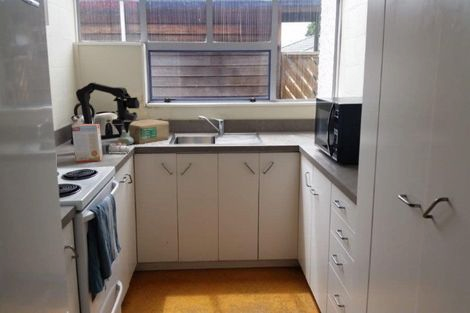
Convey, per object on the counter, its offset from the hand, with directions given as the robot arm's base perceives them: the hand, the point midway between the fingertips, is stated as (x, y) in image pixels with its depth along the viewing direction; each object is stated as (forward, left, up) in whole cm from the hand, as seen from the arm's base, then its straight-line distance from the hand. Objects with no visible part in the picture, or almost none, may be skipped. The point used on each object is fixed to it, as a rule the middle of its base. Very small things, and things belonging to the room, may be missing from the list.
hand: (124, 134), depth 256 cm
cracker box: (-12, -22, -12) cm, 28 cm away
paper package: (-5, +46, -12) cm, 48 cm away
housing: (-14, -1, -12) cm, 19 cm away
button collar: (-10, +12, -12) cm, 20 cm away
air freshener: (-12, +27, -12) cm, 32 cm away
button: (-10, +12, -12) cm, 19 cm away
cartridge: (-4, -1, -11) cm, 12 cm away
